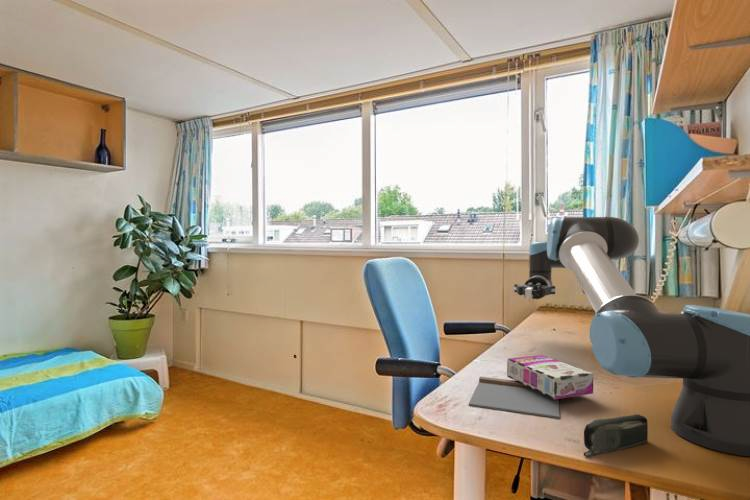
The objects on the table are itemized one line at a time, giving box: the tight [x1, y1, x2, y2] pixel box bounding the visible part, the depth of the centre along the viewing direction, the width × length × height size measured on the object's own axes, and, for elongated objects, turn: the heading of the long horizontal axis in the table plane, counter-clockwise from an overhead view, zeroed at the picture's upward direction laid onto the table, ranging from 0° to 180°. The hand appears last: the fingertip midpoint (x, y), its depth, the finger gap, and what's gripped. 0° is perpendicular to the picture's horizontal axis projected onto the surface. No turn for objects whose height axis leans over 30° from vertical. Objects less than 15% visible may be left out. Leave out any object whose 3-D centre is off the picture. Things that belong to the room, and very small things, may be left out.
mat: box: [468, 381, 560, 420], centre depth 95 cm, size 15×18×1 cm
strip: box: [478, 376, 530, 388], centre depth 103 cm, size 2×18×1 cm, turn 68°
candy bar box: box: [506, 354, 594, 400], centre depth 100 cm, size 11×5×16 cm
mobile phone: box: [583, 413, 649, 458], centre depth 73 cm, size 5×3×15 cm
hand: (527, 293), depth 124 cm, fingers closed
